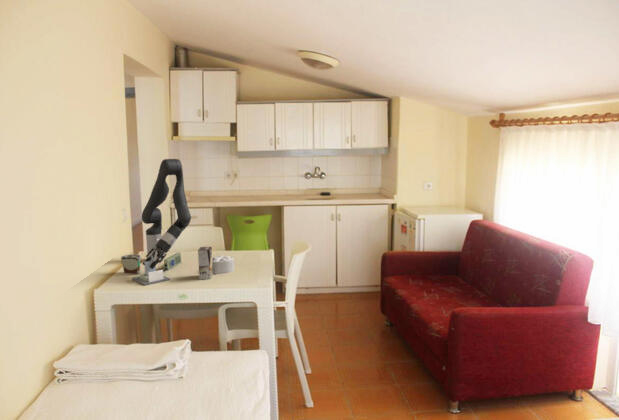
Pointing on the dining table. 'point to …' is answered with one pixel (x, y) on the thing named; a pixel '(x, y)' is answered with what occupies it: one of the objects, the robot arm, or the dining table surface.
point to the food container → (131, 264)
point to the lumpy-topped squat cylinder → (222, 264)
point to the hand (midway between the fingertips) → (147, 266)
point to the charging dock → (151, 278)
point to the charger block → (148, 267)
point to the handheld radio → (172, 261)
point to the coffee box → (205, 262)
